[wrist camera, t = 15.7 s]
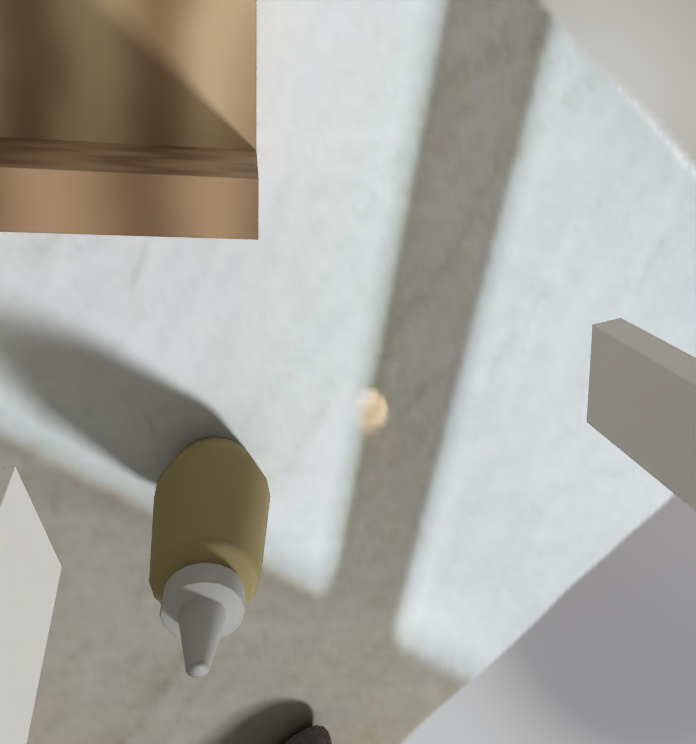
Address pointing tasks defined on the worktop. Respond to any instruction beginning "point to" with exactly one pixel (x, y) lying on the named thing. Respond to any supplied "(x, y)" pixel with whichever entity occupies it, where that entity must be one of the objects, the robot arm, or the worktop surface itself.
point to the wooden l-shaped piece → (129, 118)
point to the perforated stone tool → (311, 736)
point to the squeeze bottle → (207, 544)
